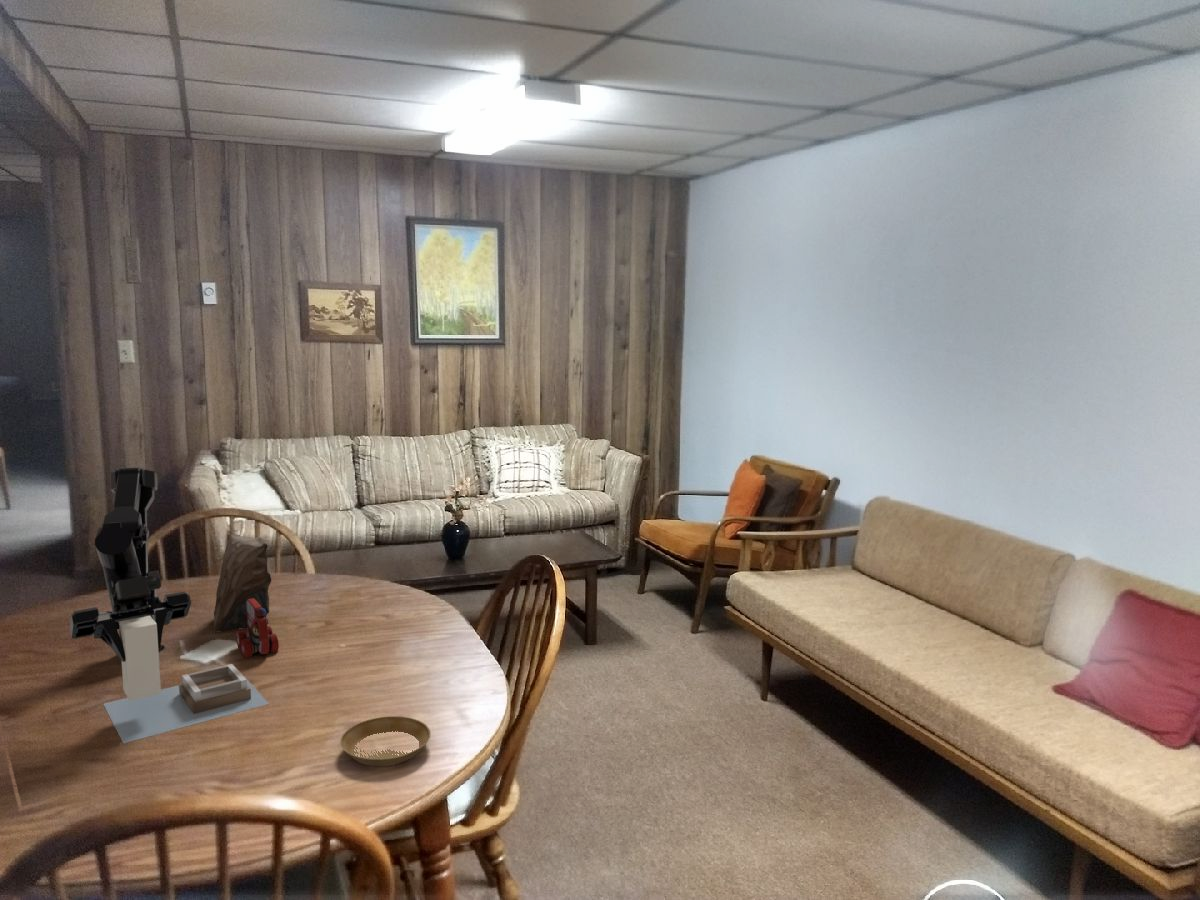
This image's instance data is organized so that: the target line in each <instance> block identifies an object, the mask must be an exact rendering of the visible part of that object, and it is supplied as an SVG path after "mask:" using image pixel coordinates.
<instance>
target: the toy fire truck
mask: <svg viewBox="0 0 1200 900" xmlns="http://www.w3.org/2000/svg"><path fill="white" fill-rule="evenodd" d="M265 615H266V610H265V609H264V608H262V607H261V606H260V604H259V603H258V602H257V601H256V600H255V599H254V598H252V599H248V600H247V628H246V629H247V630H246V631H247V632H246V631H245V630H237V632H236V633H235V635H236V636H235V641H236V647H237V649H238V651H239V650H241V654H242V656H243V658H244V659H248V658H252V657H253V654H256V653H259V654H261V655H266V654H269V652H270V653H271V654H272V653H276V652H277V653H278V651H279V647H280V644H279V638H278V636H277V634H276V633H273V628H272V627H271V626H269V625H268V624H267V620H268V619H267V620H266V618H267V617H266V618H265V617H264V616H265ZM266 616H267V615H266Z"/></svg>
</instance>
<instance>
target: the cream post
mask: <svg viewBox="0 0 1200 900" xmlns="http://www.w3.org/2000/svg"><path fill="white" fill-rule="evenodd" d="M118 630H119V631H118V634H119V637H120V640H121V642H122V645H123V648H124V652H125V657H126V660H125V662H123V661H122V660H121V659H120V661H121V673H122V687H123V689H122V690H123V692H124V694H125V695H126V698H128V699H129V701H131V700H135V699H140V698H144V697H148V696H152V695H156V694H160V693H161V690H162V686H161V673H160V672H161V669H160V657H159V656H160V655H159V654H160V653H159V652H158V636H157V624H156V622H155V621H154V620H153V619H152V617H151V616H145V617H140V618H134V619H129V620H124V621H119V629H118Z"/></svg>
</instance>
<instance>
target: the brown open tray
mask: <svg viewBox="0 0 1200 900" xmlns="http://www.w3.org/2000/svg"><path fill="white" fill-rule="evenodd" d="M239 671H240V670H238V668H237V667H235V665H234V664H233V663H229V664H224V665H221V666H216V667H212V668H207V669H203V670H199V671H195V672H191V673H186V674H182V675H181V680H182V682H181V683H179V684H178V685H179V694H180V695H181V697H182V698H183V700H184V701H185V702H186V704H187V705H188V707H189V708H190V709H191V711H192V712H193V714H196V713H200V712H203V711H207V710H211V709H215V708H219V707H222V706H226V705H230V704H234V703H238V702H241V701H245V700H249V699H251V689H250V688H249V687H248V685H247V680H248V679H247V678H246V677H245V676H244V675H243V673H242V672H241V671H240V672H241V673H240V672H239ZM246 679H247V680H246Z"/></svg>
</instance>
